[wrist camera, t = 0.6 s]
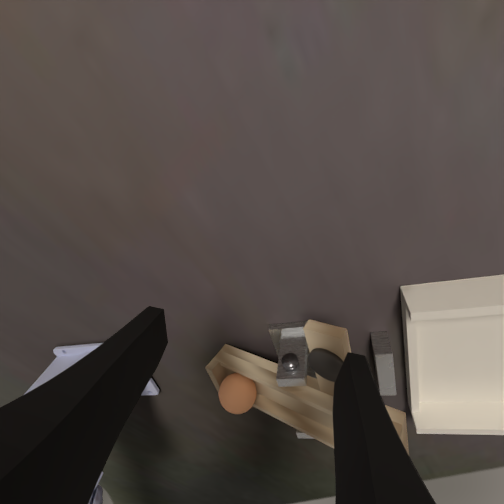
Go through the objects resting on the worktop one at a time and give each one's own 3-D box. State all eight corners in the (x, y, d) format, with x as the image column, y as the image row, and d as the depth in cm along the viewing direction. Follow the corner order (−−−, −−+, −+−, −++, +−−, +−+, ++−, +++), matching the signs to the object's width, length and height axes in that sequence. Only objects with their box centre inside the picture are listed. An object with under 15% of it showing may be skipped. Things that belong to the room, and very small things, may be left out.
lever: (241, 379, 30) (223, 403, 28) (202, 292, 25) (177, 314, 23) (409, 457, 21) (397, 500, 19) (400, 342, 15) (383, 387, 14)
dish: (408, 402, 28) (416, 433, 25) (400, 286, 22) (410, 313, 19) (547, 400, 25) (572, 435, 22) (584, 265, 19) (624, 294, 16)
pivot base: (291, 388, 30) (287, 441, 25) (269, 324, 26) (260, 374, 21) (392, 385, 27) (406, 444, 23) (384, 313, 23) (400, 369, 19)
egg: (234, 385, 28) (219, 418, 26) (223, 362, 27) (206, 395, 24) (265, 390, 27) (253, 425, 25) (255, 366, 26) (242, 401, 23)
